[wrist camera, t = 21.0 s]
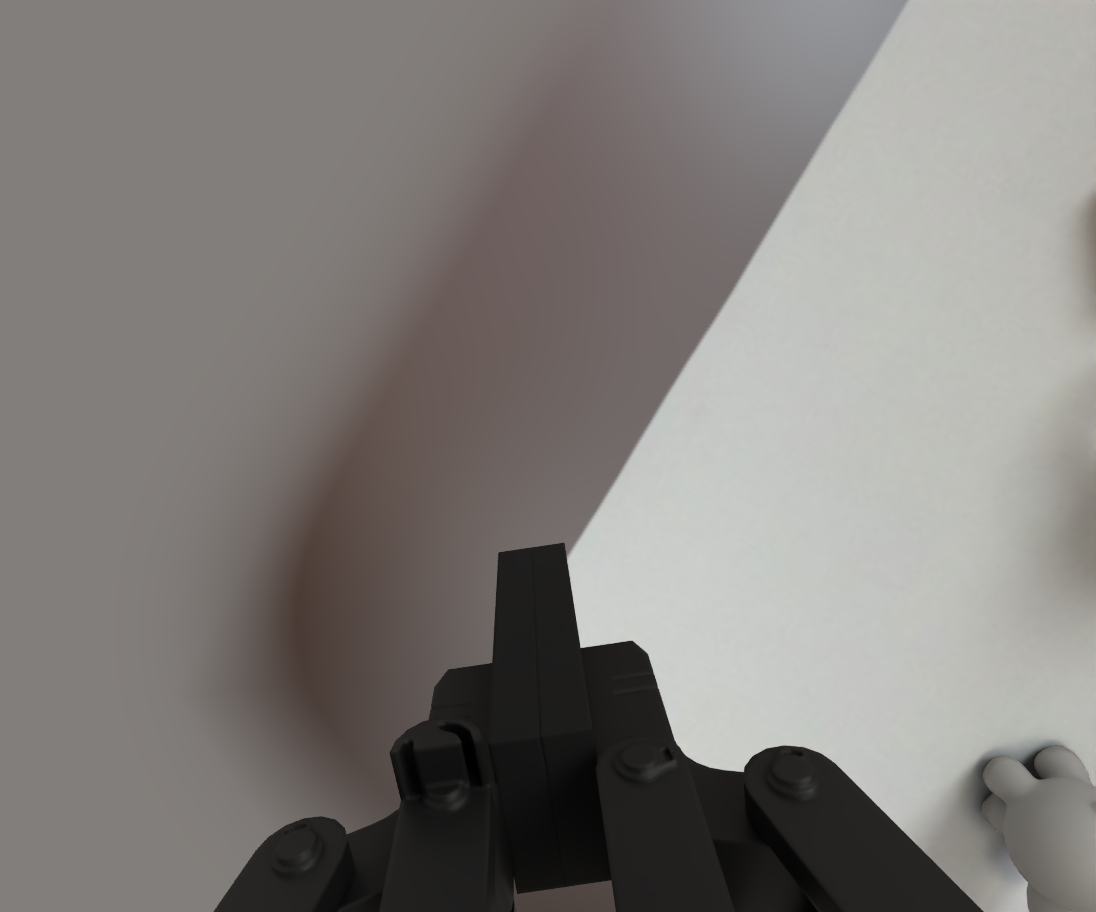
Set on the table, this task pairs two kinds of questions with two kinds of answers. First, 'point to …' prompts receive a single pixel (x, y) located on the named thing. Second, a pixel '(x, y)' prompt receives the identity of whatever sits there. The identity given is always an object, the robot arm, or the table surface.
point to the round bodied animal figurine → (1047, 827)
